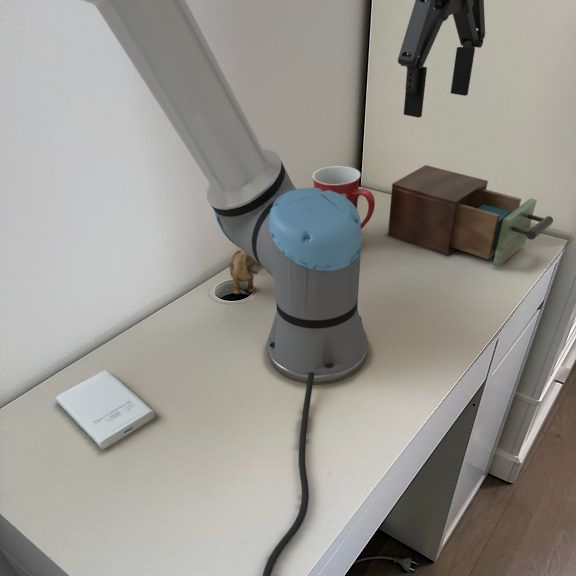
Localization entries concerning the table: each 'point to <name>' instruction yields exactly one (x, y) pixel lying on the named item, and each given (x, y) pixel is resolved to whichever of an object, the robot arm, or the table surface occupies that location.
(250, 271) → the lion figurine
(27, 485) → the table surface
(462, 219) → the drawer
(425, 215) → the cabinet
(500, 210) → the block
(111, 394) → the hard drive
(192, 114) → the robot arm
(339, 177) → the mug
